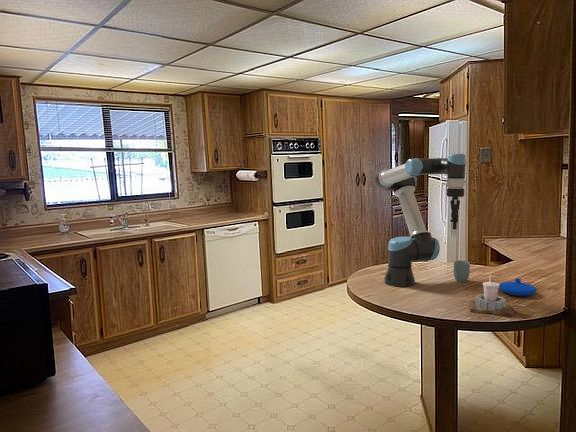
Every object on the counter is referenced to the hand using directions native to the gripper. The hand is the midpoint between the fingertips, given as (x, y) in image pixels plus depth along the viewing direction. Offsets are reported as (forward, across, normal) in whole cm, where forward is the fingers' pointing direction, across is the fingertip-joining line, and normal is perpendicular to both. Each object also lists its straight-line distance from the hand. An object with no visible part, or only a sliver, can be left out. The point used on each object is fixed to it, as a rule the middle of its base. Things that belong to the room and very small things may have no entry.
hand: (453, 233), depth 201 cm
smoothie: (+28, -17, -15) cm, 36 cm away
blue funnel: (+29, +10, -29) cm, 42 cm away
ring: (+28, -17, -15) cm, 36 cm away
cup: (+29, +25, -5) cm, 39 cm away
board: (+29, -17, -15) cm, 37 cm away
